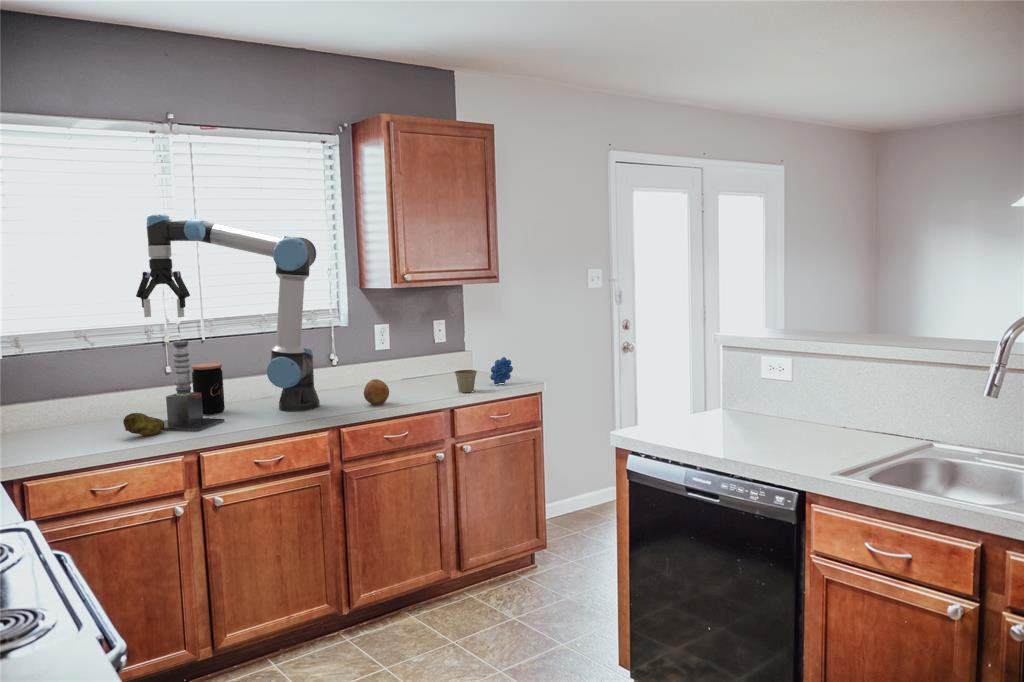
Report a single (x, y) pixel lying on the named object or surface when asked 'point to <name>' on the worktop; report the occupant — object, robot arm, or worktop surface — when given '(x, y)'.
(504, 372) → the grapes
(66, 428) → the worktop surface
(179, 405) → the stand
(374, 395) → the brown ball
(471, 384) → the flower pot
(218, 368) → the coffee jar
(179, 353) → the column
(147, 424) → the potato
